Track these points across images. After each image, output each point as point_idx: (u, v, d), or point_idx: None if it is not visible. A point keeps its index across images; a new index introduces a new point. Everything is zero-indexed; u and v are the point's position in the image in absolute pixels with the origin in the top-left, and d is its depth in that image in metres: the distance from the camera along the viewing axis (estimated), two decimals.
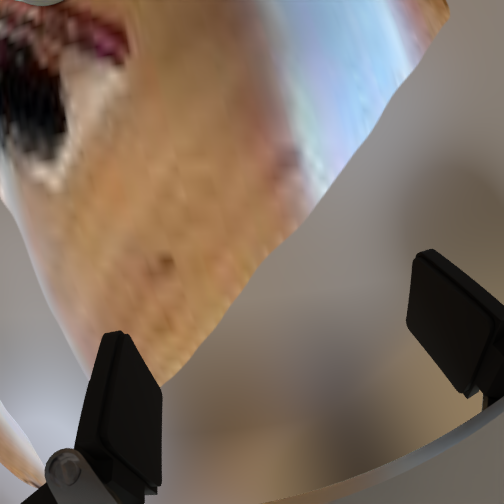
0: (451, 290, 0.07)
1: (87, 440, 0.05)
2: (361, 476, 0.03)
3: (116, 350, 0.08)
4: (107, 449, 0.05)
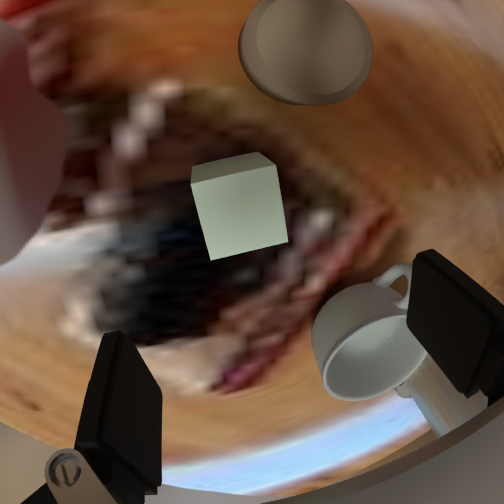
0: (451, 290, 0.07)
1: (87, 440, 0.05)
2: (361, 476, 0.03)
3: (116, 350, 0.08)
4: (107, 449, 0.05)
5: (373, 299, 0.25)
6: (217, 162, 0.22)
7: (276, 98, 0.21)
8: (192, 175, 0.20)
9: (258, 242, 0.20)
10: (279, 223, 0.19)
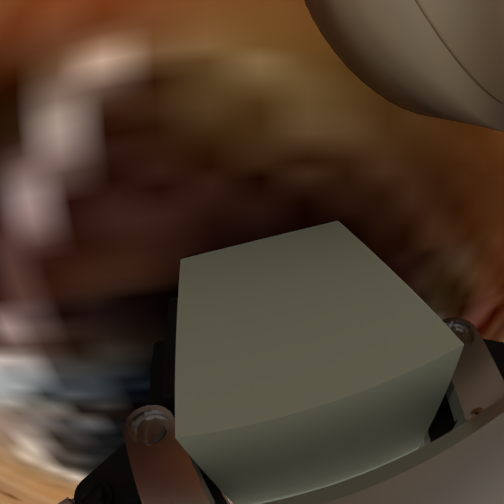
0: None
1: None
2: (361, 476, 0.03)
3: None
4: None
5: None
6: (245, 259, 0.09)
7: (396, 95, 0.07)
8: (179, 337, 0.06)
9: None
10: (411, 445, 0.06)
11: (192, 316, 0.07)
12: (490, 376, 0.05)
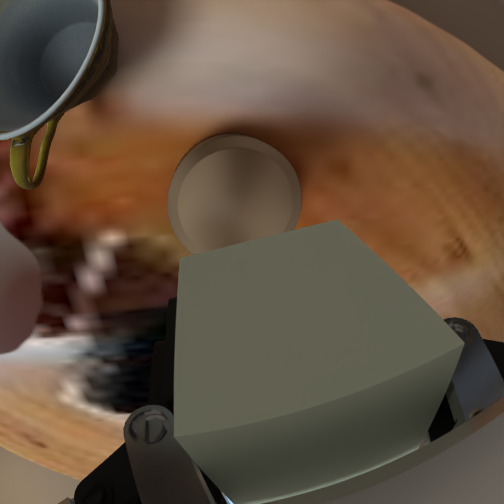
0: None
1: None
2: (361, 476, 0.03)
3: None
4: None
5: None
6: (245, 258, 0.09)
7: None
8: (178, 336, 0.06)
9: None
10: (411, 444, 0.06)
11: (191, 315, 0.07)
12: (490, 376, 0.05)
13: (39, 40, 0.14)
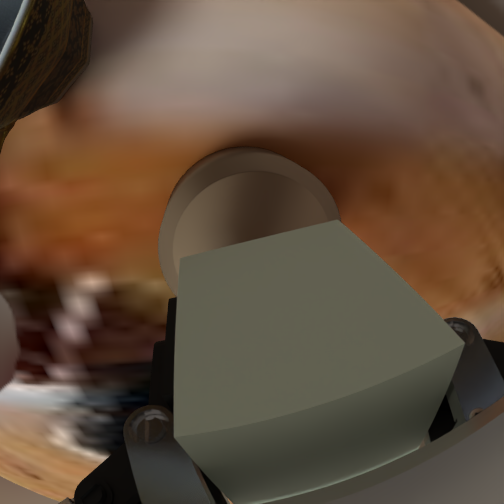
0: None
1: None
2: (361, 476, 0.03)
3: None
4: None
5: None
6: (245, 258, 0.09)
7: None
8: (178, 336, 0.06)
9: None
10: (411, 444, 0.06)
11: (191, 315, 0.07)
12: (490, 376, 0.05)
13: None
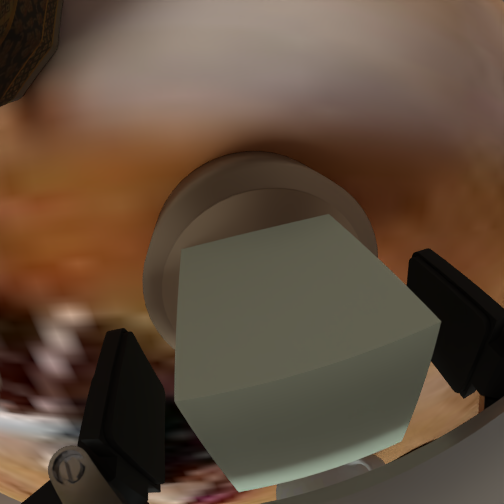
0: (447, 289, 0.07)
1: (91, 437, 0.05)
2: (361, 476, 0.03)
3: (119, 347, 0.08)
4: (111, 446, 0.05)
5: None
6: (241, 248, 0.09)
7: None
8: (179, 316, 0.07)
9: (345, 459, 0.07)
10: (398, 425, 0.07)
11: (192, 298, 0.07)
12: None
13: None
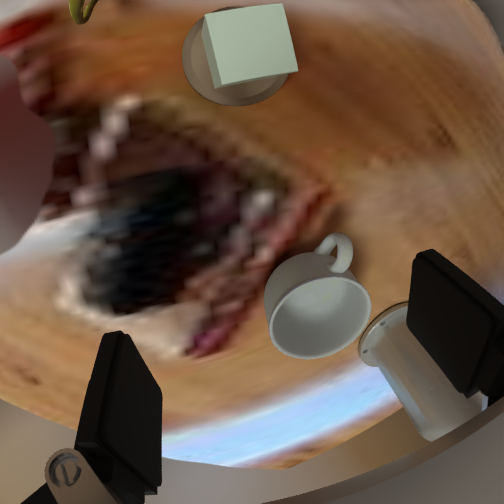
0: (451, 290, 0.07)
1: (87, 440, 0.05)
2: (361, 476, 0.03)
3: (116, 350, 0.08)
4: (107, 449, 0.05)
5: (310, 265, 0.30)
6: None
7: (214, 102, 0.25)
8: (204, 23, 0.17)
9: (269, 68, 0.17)
10: (289, 52, 0.17)
11: None
12: None
13: None
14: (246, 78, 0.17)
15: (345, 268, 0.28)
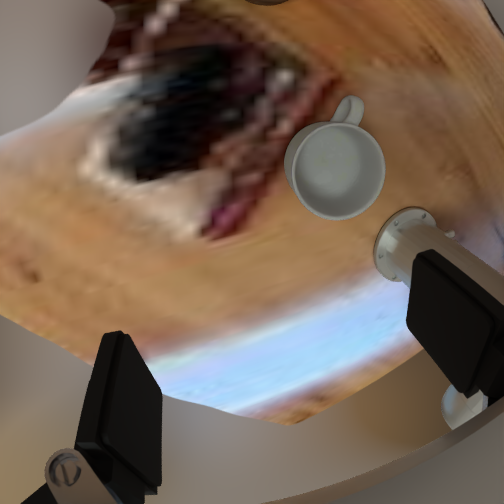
0: (451, 290, 0.07)
1: (87, 440, 0.05)
2: (361, 476, 0.03)
3: (116, 350, 0.08)
4: (107, 449, 0.05)
5: (327, 122, 0.31)
6: None
7: None
8: None
9: None
10: None
11: None
12: None
13: None
14: None
15: (358, 119, 0.29)
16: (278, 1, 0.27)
